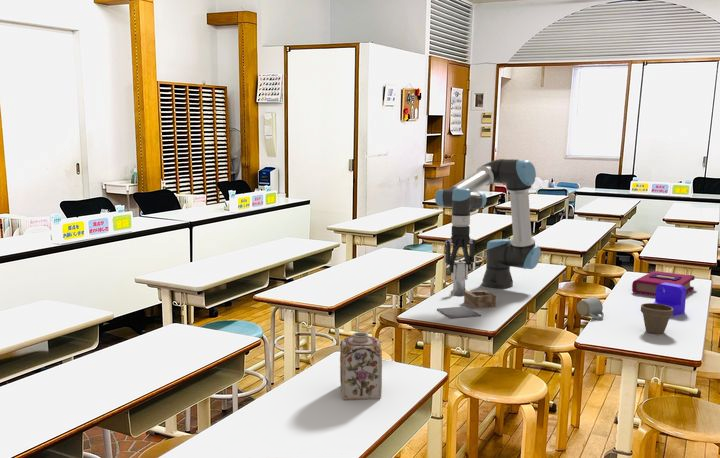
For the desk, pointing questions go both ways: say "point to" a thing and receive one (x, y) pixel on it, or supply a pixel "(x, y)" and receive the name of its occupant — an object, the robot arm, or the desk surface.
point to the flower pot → (656, 317)
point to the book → (660, 282)
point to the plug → (459, 279)
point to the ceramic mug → (590, 308)
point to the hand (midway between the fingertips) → (459, 279)
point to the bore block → (480, 299)
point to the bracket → (671, 297)
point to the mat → (458, 312)
